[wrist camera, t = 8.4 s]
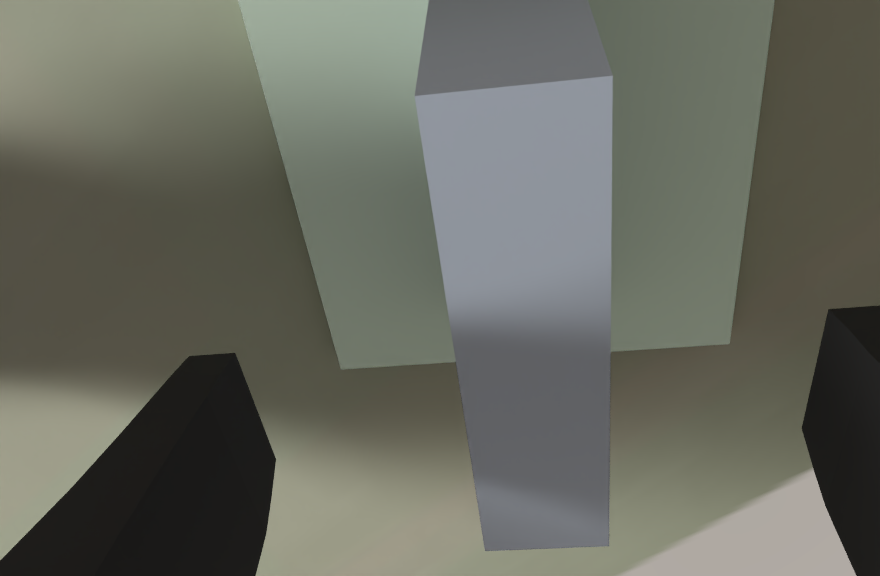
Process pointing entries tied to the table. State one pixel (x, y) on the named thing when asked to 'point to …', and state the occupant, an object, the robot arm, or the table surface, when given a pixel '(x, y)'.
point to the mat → (406, 186)
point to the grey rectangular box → (525, 255)
